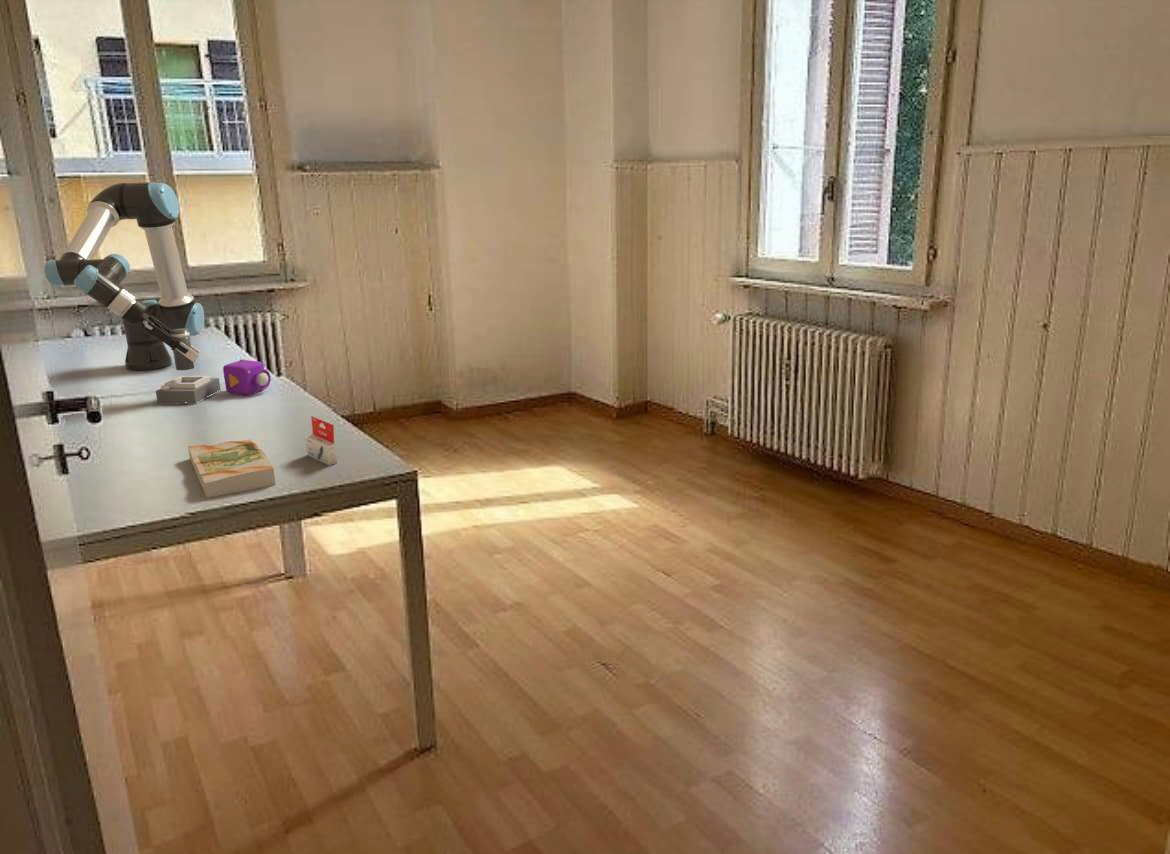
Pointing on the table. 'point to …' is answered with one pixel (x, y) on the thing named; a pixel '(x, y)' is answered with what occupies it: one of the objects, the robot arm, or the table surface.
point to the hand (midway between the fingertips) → (196, 356)
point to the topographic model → (231, 467)
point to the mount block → (187, 389)
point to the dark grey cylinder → (179, 358)
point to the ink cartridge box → (321, 442)
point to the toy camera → (246, 377)
